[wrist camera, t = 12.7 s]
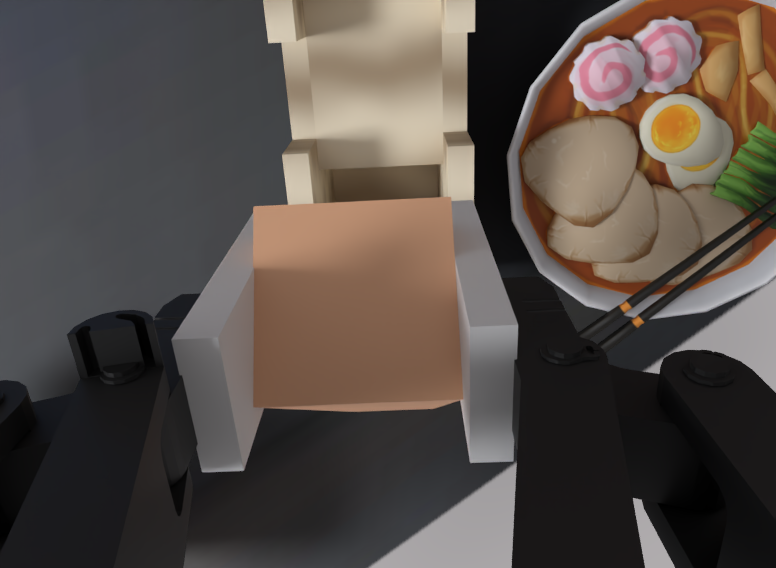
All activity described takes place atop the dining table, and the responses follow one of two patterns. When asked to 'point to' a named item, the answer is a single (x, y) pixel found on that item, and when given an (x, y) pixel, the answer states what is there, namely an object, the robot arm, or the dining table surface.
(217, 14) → the dining table surface
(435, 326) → the tan block
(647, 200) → the ramen bowl
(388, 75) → the box
